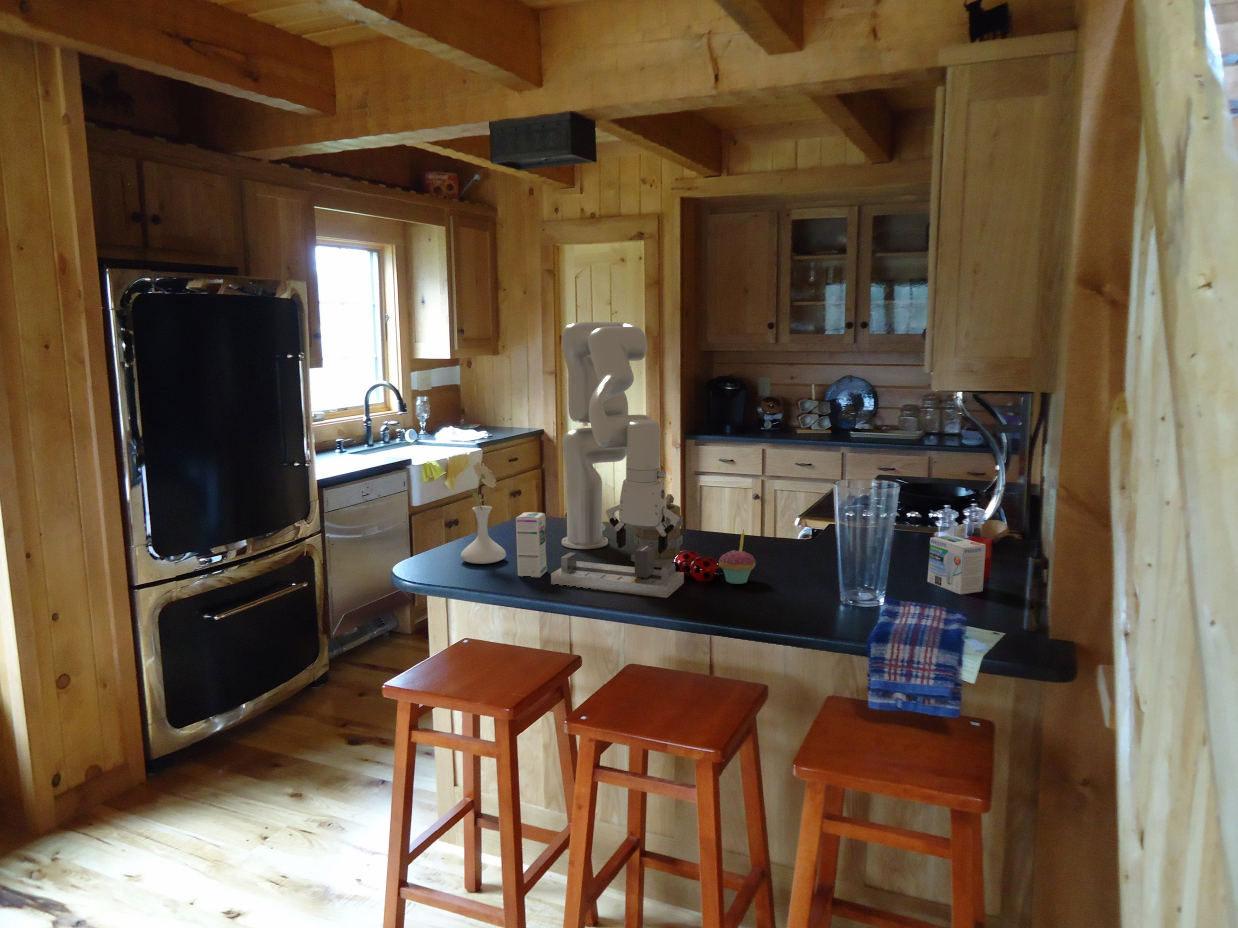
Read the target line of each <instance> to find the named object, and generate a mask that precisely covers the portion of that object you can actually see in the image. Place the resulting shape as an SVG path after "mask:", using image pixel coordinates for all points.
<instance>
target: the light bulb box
mask: <svg viewBox="0 0 1238 928" xmlns="http://www.w3.org/2000/svg"><path fill="white" fill-rule="evenodd" d="M986 546H987V545H986V544H985V543H980V542H979V541H978V542H977V541H973V540H971V539H968V538H963V537H960V536H957V535H953V534H947V535H941V536H932V537H930V540H929V555H928V556H929V557H928V570H927V583H929V584H932V585H935V586H937V587H940V588H942V589H945V590H947V591H949V592H953V593H955V594H959V595H966V594H972V593H981V592H983V589H984V575H985V574H984V573H985V560H986V548H987V547H986Z"/></svg>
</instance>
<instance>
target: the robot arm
mask: <svg viewBox="0 0 1238 928" xmlns="http://www.w3.org/2000/svg"><path fill="white" fill-rule="evenodd" d="M560 342H561V349H562V354H563V357H564V360H565V363H566V368H567V375H568V376H567V387H568V388H567V394H568V395H567V396H568V399H567V404H568V405H567V406H568V415H569V418H570V419H571V421H572V422H575V423H578V424H581V423H582V424H590V427H578V428H574V429H571V430H568V431H567V432H566V433H565V434H564V436H563V439H562V451H563V455H564V456H563V457H564V461H565V472H566V474H565V475H566V526H567V527H566V528H567V529H566V536H565V537H563V538H562V539H561V545H562V546H563V547H566V548H568V549H576V550H592V549H593V550H594V549H599V548H603V547H605V546H607V545H609V539H608V538H607V537H605V536H603V531H605V529H606V524H605V523H603V480H602V476H601V475H600V473H599V472H598V471H597V469H596V468H595V467H594V464H602V463H603V464H604V463H617V462H621V461H623V460H624V459H626V460H625V461H626V462H625V479H624V480H623V481H622V486H621V489H620V496H619V503H618V504H617V505H615V506H612V507H609V508H608V509H606V510H605V514H606V516H607V518H608V520H609V524H611V525H612V526H613V528H614V531H616V536H615V537H616V541H615V542H616V544H617V548H618V549H622V548H624V547H625V546H626V544H627V543H626V541H627V538H626V537H627V529H626V528H625V526H627V525H628V526H629V525H631V526H635V525H638V526H647V527H656V529H657V530H658V532H659V533H660V536H659V537H658V553H663V552H664V551H665V549H667V539H668V533H669V532H671V531H672V530H673V529H674V528H675V526H676V525H677V523H678V521H679V519H680V518H679V516H677V515H676V514H674V513H673V512H671V511H669V510H668V509H666V496H667V495H666V490H665V484H664V481H662V480H661V479H665V478H666V476H667V474H666V472H665V471H662V469H661V436H662V435H661V432H662V431H661V428H662V427H661V425H660V423H659V422H658V421H657V420H654V419H652V418H651V417H650V416H649V415H646V414H629V402H628V398H627V395H626V393H625V392H626V391H627V390H629V389H630V387H632V385H633V384H634V381H635V380H634V379H635V376H634V372H633V370H632V366H631V363H630V362H636V361H638V362H639V361H641V360H643V359H644V358H645V357H646V355H647V353H648V341H647V337H646V334H645V333H644V331H643V330H642V329H641V327H638V326H636V325H633V324H630V323H627V322H620V321H578V322H573V323H570V324H567V325H566V326H565V327H564V329H563V330H562V334H561V341H560ZM617 512H618V518H619V519H618V518H617V516H616V514H615V513H617ZM666 517H668V518H669V519H670V520H671V523H670V525H669V526H668V527H667V526H666V525H665V523H664V522H665V521H666Z"/></svg>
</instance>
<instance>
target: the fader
mask: <svg viewBox="0 0 1238 928" xmlns="http://www.w3.org/2000/svg"><path fill="white" fill-rule="evenodd" d="M634 553H635V562H634V567H635V577H644V578H648V577H649V576H650V575H652V574H653V573H654V569H655V567H654V547H648V546H641V547H639V548H638V549H637V548H636V549H635V550H634Z"/></svg>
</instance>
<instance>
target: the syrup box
mask: <svg viewBox="0 0 1238 928" xmlns="http://www.w3.org/2000/svg"><path fill="white" fill-rule="evenodd" d="M546 522H547V521H546V513H545V512H538V511H536V512H535V511H528V512H523V513H521V514H519V515H518V516H517V517H515V531H516V533H515V534H516V535H515V536H516V537H515V538H516V540H515V541H516V564H517V565H516V566H517V576H518V577H523V576H531V577H530V578H541V577H542V576H543V575H544V574H545V573H546V572H547V571H548V559H547V558H548V554H547V527H546Z"/></svg>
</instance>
